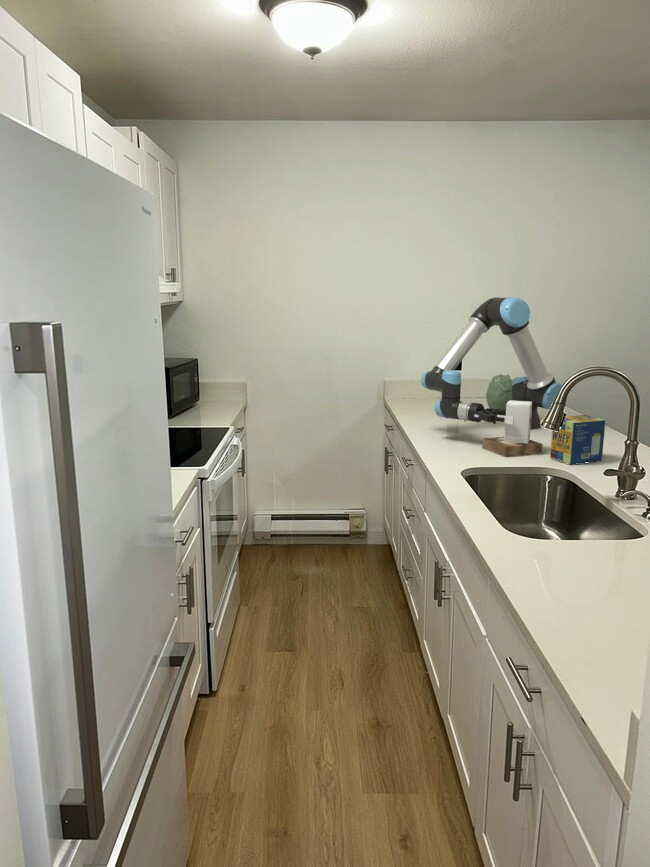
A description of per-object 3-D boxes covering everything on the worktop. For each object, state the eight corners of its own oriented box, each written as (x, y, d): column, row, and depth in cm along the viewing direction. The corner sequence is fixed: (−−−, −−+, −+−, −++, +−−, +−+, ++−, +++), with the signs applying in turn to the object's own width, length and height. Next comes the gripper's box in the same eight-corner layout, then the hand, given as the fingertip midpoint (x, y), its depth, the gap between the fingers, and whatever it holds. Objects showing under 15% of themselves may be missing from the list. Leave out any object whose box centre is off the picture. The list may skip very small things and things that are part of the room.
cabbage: (511, 410, 357) (513, 372, 353) (520, 416, 339) (523, 376, 335) (481, 410, 357) (483, 372, 353) (489, 416, 339) (491, 376, 335)
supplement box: (528, 444, 256) (530, 404, 253) (503, 442, 259) (505, 403, 256) (530, 439, 264) (532, 401, 261) (506, 437, 267) (508, 399, 264)
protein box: (549, 459, 251) (552, 417, 248) (581, 455, 257) (584, 414, 254) (569, 465, 242) (573, 422, 239) (602, 461, 248) (606, 419, 245)
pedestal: (517, 445, 274) (517, 434, 273) (541, 454, 259) (542, 443, 258) (482, 448, 269) (482, 437, 268) (505, 457, 254) (505, 445, 253)
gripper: (486, 417, 283) (535, 423, 269) (454, 425, 264) (505, 432, 251) (487, 399, 281) (536, 404, 267) (455, 406, 263) (506, 412, 249)
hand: (521, 418), depth 259 cm, fingers open, 13 cm apart
